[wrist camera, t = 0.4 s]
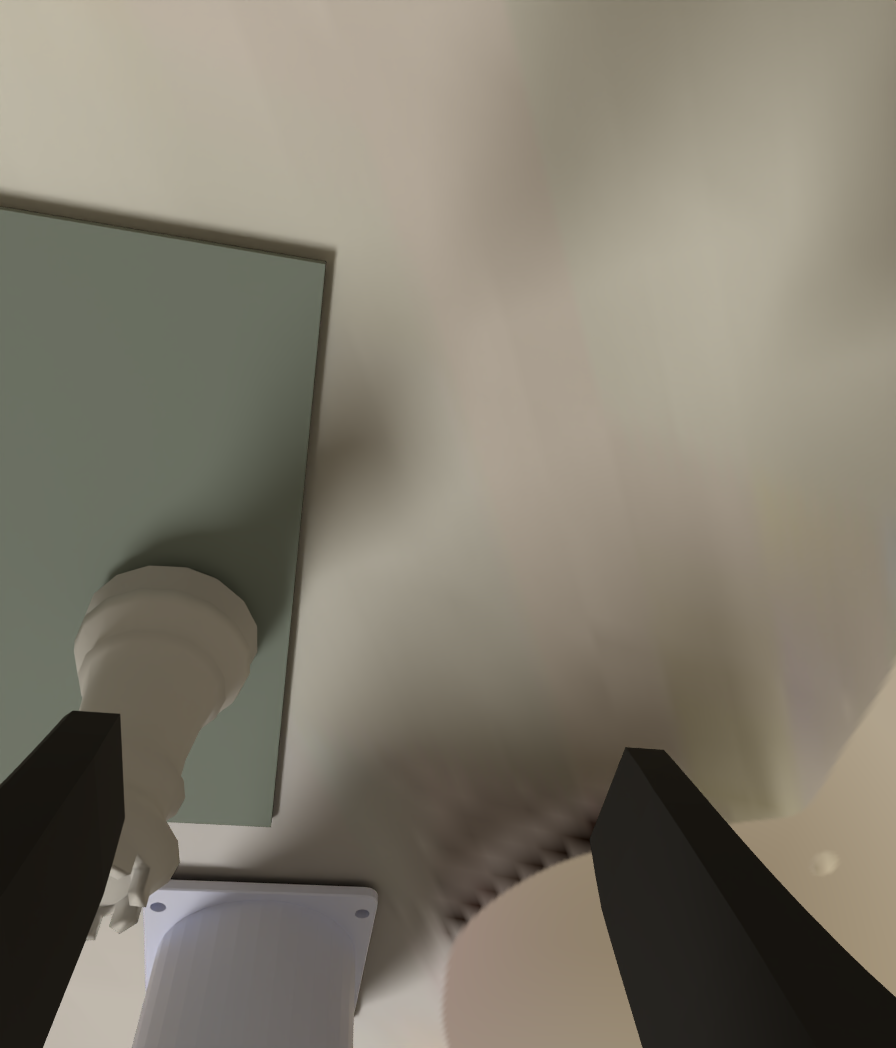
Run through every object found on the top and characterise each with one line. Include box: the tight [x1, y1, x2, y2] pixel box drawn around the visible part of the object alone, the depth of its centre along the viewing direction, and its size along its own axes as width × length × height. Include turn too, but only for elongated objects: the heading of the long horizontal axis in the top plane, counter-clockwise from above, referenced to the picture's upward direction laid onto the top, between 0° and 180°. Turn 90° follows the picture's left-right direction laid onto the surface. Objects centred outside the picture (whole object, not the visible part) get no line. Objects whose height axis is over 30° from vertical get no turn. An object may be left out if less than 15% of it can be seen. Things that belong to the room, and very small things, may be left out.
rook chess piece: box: [74, 565, 257, 940], centre depth 17 cm, size 4×4×8 cm
